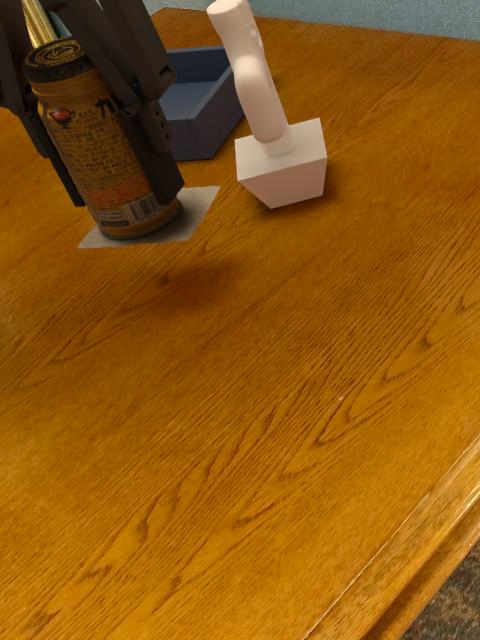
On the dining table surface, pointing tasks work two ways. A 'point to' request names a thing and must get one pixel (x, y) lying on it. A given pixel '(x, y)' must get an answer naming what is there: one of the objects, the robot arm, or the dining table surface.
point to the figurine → (267, 118)
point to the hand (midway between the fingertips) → (130, 194)
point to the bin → (201, 102)
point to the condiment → (105, 153)
